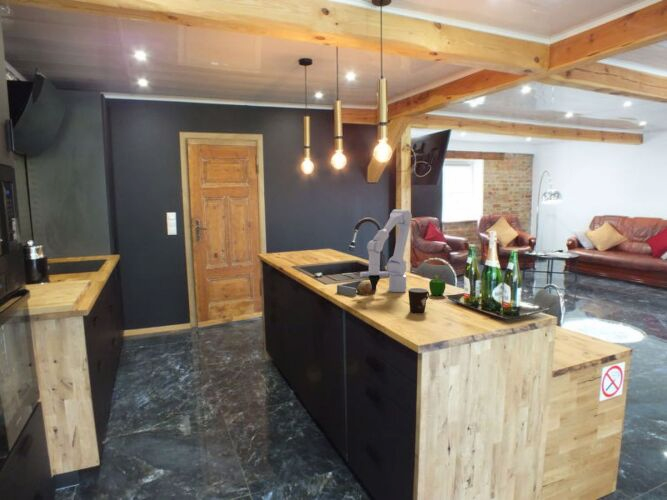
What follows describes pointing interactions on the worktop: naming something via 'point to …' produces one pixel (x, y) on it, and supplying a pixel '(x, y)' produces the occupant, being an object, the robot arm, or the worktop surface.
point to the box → (348, 288)
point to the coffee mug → (417, 299)
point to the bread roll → (365, 288)
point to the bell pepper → (437, 286)
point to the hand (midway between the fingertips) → (373, 289)
